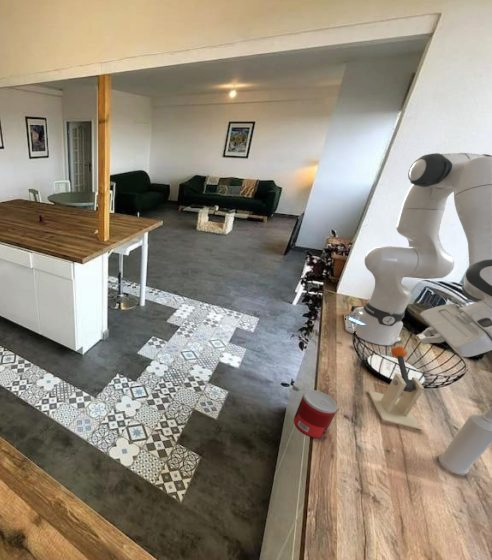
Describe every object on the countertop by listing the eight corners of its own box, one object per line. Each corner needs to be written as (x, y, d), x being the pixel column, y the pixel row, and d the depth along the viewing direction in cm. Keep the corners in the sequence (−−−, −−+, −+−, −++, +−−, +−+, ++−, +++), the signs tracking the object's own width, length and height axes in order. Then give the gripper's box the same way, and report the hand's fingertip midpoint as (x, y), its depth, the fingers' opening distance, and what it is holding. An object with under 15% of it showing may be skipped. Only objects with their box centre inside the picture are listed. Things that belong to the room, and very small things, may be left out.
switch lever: (387, 348, 100) (393, 343, 97) (401, 351, 98) (408, 345, 96) (396, 390, 92) (403, 385, 89) (412, 393, 90) (419, 389, 88)
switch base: (366, 393, 102) (382, 363, 96) (400, 401, 99) (419, 371, 93) (380, 422, 92) (399, 390, 86) (419, 432, 89) (441, 400, 83)
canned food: (327, 443, 86) (341, 415, 81) (295, 434, 88) (307, 406, 83) (320, 421, 92) (333, 394, 87) (290, 413, 95) (301, 386, 90)
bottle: (471, 479, 77) (533, 407, 66) (446, 475, 78) (504, 403, 67) (454, 459, 81) (510, 389, 70) (431, 456, 82) (483, 386, 71)
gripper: (451, 294, 94) (397, 315, 102) (499, 330, 77) (430, 352, 85) (462, 309, 95) (408, 329, 102) (513, 349, 78) (443, 369, 85)
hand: (419, 340), depth 93 cm, fingers closed
